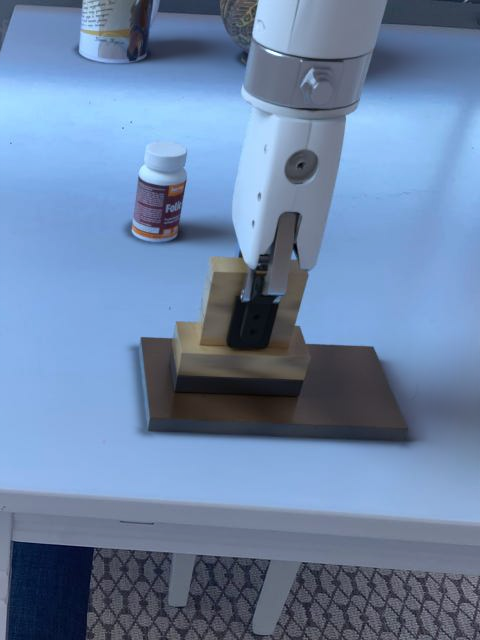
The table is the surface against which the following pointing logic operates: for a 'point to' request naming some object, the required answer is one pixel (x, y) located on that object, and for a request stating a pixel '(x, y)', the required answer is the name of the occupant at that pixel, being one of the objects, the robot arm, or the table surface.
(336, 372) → the board
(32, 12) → the table surface
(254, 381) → the wooden handled stamp
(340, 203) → the table surface
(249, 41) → the decorative ceramic pot
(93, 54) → the mug
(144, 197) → the pill bottle
